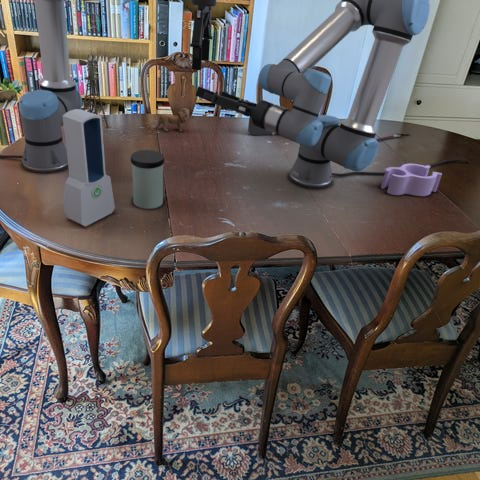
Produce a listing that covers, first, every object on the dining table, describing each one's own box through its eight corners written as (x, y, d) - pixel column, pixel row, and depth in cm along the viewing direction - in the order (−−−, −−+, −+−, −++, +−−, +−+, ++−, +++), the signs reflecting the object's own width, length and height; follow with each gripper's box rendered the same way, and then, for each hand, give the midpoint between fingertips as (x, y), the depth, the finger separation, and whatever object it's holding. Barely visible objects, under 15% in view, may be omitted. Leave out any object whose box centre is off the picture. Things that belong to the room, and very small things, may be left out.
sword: (406, 132, 223) (406, 130, 222) (411, 134, 221) (412, 132, 220) (362, 144, 207) (363, 141, 206) (368, 146, 205) (368, 143, 204)
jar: (129, 197, 145) (127, 153, 137) (156, 193, 149) (156, 150, 141) (139, 210, 139) (137, 165, 131) (167, 206, 143) (167, 161, 135)
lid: (126, 157, 138) (126, 151, 137) (157, 153, 142) (157, 148, 141) (137, 170, 131) (136, 164, 130) (169, 166, 136) (169, 160, 135)
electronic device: (82, 228, 128) (71, 122, 112) (63, 219, 131) (50, 114, 115) (115, 211, 137) (109, 111, 121) (97, 203, 140) (89, 104, 124)
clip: (394, 198, 162) (399, 180, 158) (374, 182, 171) (379, 165, 168) (440, 194, 168) (447, 177, 164) (419, 179, 178) (424, 162, 174)
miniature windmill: (99, 133, 186) (93, 55, 170) (79, 130, 187) (71, 51, 171) (109, 126, 194) (104, 50, 178) (90, 123, 195) (83, 47, 179)
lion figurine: (187, 126, 202) (187, 106, 197) (190, 131, 198) (191, 110, 193) (153, 128, 197) (153, 107, 193) (156, 132, 193) (155, 111, 188)
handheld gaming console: (295, 131, 210) (298, 109, 204) (297, 134, 208) (301, 111, 202) (247, 133, 203) (249, 110, 197) (249, 135, 201) (251, 112, 195)
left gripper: (209, -5, 127) (205, 75, 138) (223, -12, 148) (218, 58, 159) (181, -8, 127) (180, 72, 139) (199, -15, 148) (197, 55, 160)
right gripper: (245, 128, 123) (182, 102, 131) (282, 131, 145) (226, 108, 153) (254, 100, 121) (189, 75, 128) (290, 107, 142) (233, 85, 150)
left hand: (200, 65), depth 149 cm, fingers open, 13 cm apart
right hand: (209, 93), depth 141 cm, fingers open, 13 cm apart
